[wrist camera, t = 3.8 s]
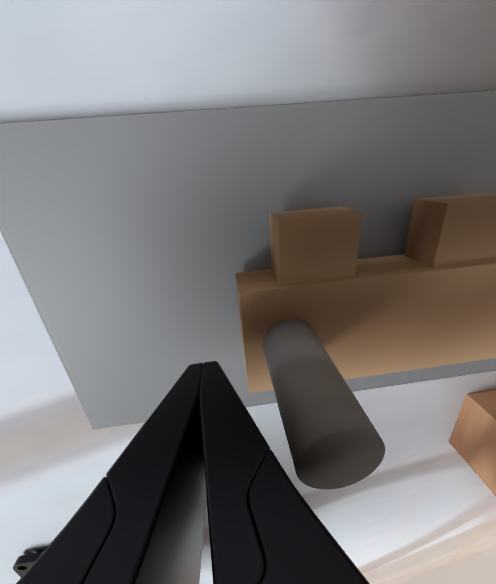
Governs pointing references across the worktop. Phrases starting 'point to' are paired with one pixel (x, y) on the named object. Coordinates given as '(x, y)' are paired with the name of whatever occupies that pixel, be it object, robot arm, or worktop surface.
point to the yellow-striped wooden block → (478, 435)
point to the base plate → (212, 223)
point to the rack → (363, 320)
